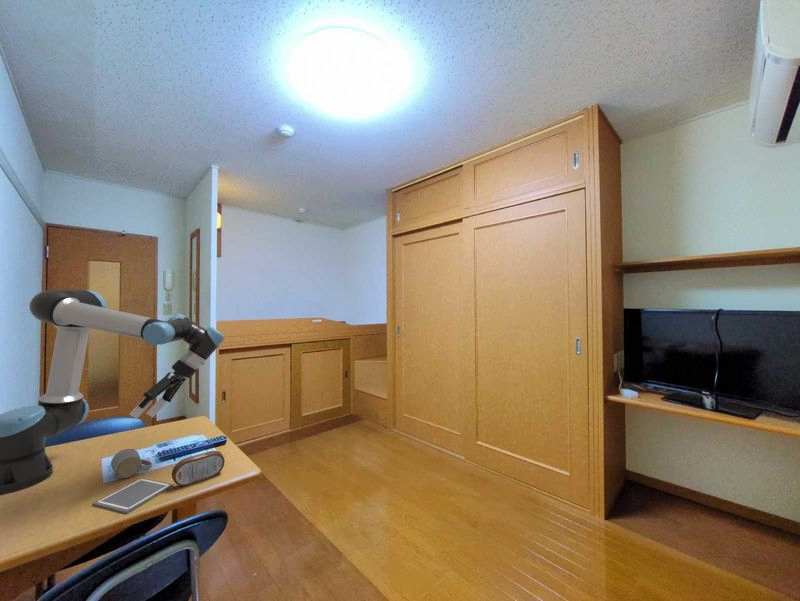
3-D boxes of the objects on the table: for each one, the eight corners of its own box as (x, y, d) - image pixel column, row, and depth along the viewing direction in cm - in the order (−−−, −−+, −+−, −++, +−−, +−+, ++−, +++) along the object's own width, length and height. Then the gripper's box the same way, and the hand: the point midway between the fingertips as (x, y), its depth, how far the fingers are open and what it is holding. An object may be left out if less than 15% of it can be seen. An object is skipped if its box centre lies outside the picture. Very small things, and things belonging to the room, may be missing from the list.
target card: (92, 505, 95) (92, 502, 95) (141, 479, 108) (141, 477, 108) (126, 514, 91) (126, 511, 91) (173, 486, 105) (173, 483, 105)
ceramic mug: (115, 483, 106) (115, 460, 106) (110, 475, 111) (110, 452, 111) (155, 470, 114) (155, 448, 114) (148, 463, 119) (148, 442, 119)
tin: (223, 470, 114) (222, 446, 114) (225, 473, 112) (225, 449, 112) (171, 487, 104) (171, 461, 104) (173, 491, 102) (172, 465, 102)
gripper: (187, 366, 110) (135, 423, 101) (205, 373, 133) (164, 420, 124) (168, 353, 110) (114, 410, 101) (189, 363, 132) (146, 409, 123)
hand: (141, 416), depth 112 cm, fingers open, 13 cm apart
